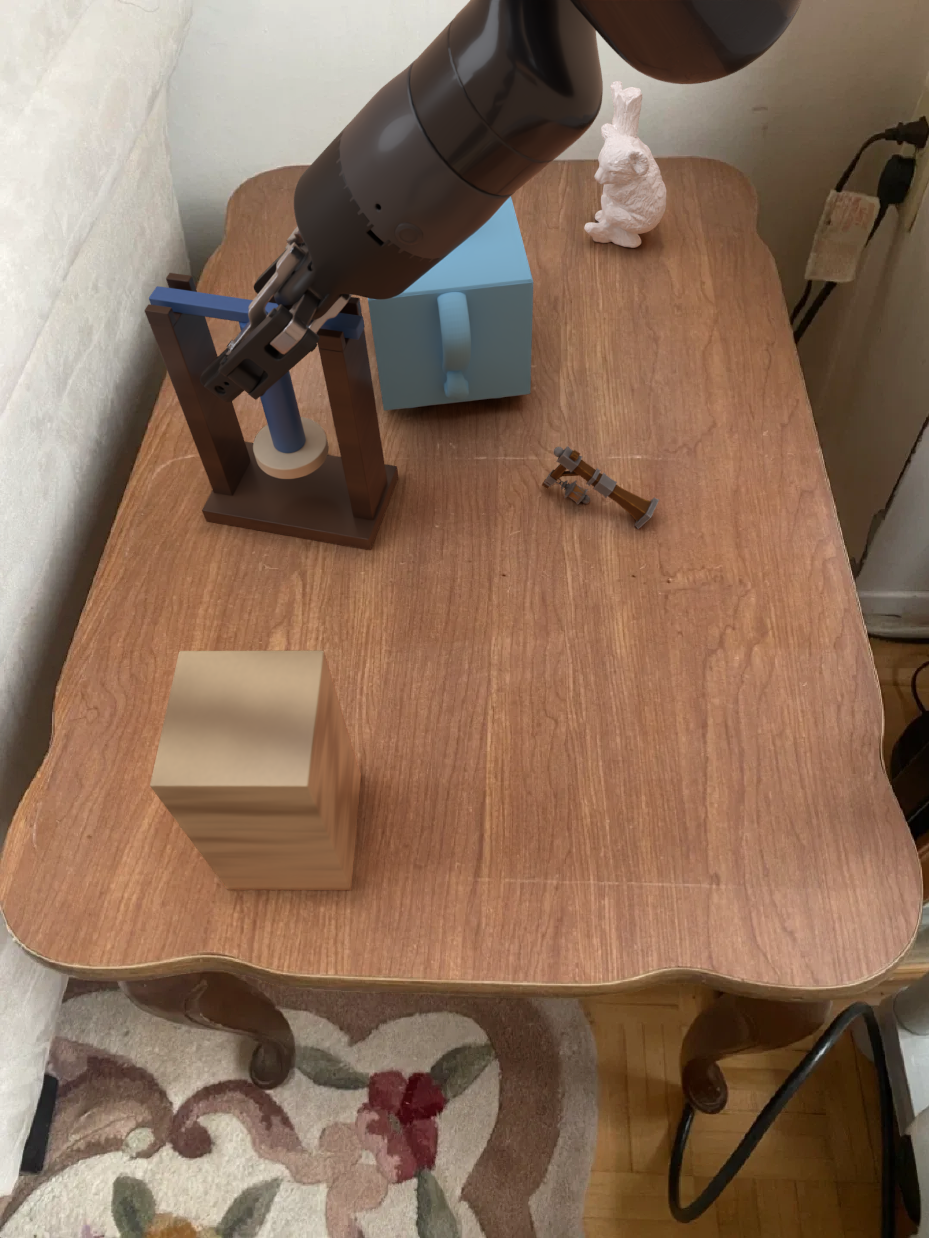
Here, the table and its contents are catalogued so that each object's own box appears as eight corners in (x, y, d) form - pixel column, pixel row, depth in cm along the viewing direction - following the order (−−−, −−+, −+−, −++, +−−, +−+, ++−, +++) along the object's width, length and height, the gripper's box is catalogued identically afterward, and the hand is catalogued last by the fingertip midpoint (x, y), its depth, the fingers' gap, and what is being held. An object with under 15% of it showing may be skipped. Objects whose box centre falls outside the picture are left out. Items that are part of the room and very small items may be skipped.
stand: (370, 550, 66) (334, 358, 52) (205, 521, 68) (128, 329, 54) (398, 477, 70) (371, 279, 56) (241, 451, 72) (177, 254, 58)
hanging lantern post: (538, 467, 69) (564, 433, 65) (629, 527, 70) (661, 497, 66) (528, 484, 68) (554, 451, 64) (620, 545, 69) (652, 516, 65)
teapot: (535, 436, 72) (541, 280, 60) (388, 453, 71) (366, 299, 60) (494, 259, 84) (493, 101, 73) (369, 272, 84) (347, 116, 72)
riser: (351, 890, 53) (308, 786, 41) (226, 889, 53) (148, 785, 42) (361, 774, 57) (324, 649, 45) (245, 774, 57) (178, 650, 46)
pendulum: (371, 495, 63) (345, 351, 53) (190, 462, 65) (133, 318, 55) (393, 441, 66) (373, 295, 56) (219, 412, 68) (170, 266, 58)
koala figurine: (573, 211, 88) (582, 77, 78) (646, 204, 88) (664, 70, 78) (589, 268, 83) (601, 133, 73) (666, 261, 83) (688, 125, 73)
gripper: (391, 51, 49) (234, 228, 60) (296, 213, 41) (137, 381, 52) (493, 161, 52) (327, 309, 63) (424, 330, 44) (249, 463, 56)
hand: (241, 341), depth 58 cm, fingers open, 8 cm apart
